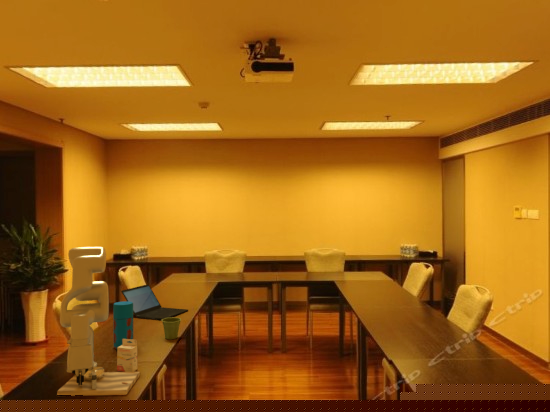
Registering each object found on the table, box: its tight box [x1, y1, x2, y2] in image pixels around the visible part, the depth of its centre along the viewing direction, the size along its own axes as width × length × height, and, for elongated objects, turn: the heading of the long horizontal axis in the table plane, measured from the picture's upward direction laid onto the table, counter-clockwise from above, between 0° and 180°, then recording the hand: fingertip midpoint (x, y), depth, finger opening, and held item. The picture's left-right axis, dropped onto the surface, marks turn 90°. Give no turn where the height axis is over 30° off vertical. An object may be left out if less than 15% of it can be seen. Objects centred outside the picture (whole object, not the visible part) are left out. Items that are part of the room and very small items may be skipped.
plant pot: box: [161, 316, 182, 340], centre depth 282 cm, size 12×12×11 cm
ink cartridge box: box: [116, 339, 138, 372], centre depth 226 cm, size 9×5×15 cm, turn 77°
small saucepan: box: [84, 366, 105, 389], centre depth 206 cm, size 20×9×6 cm, turn 22°
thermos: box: [112, 300, 134, 350], centre depth 265 cm, size 11×11×25 cm
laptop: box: [121, 284, 189, 321], centre depth 348 cm, size 33×38×19 cm
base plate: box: [56, 371, 141, 397], centre depth 207 cm, size 22×29×2 cm
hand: (80, 384), depth 201 cm, fingers closed
